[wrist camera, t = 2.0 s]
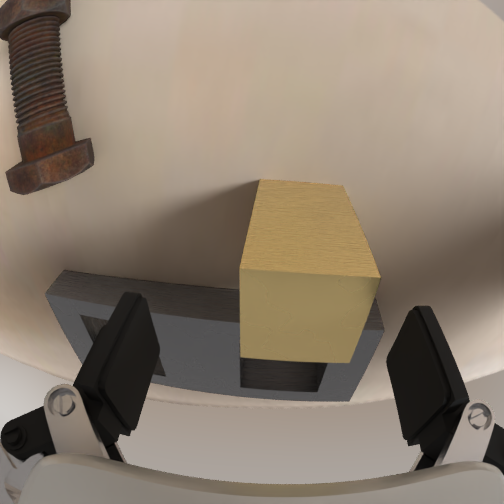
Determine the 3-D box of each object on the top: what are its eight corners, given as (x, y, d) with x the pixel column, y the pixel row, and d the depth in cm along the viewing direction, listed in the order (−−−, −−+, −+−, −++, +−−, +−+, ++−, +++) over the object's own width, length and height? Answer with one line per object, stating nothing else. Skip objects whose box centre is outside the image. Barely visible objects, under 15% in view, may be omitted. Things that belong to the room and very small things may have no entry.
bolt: (80, -37, 10) (97, 157, 18) (13, -14, 8) (31, 179, 16) (72, -76, 5) (89, 176, 13) (-13, -43, 4) (4, 206, 11)
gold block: (343, 185, 16) (381, 277, 9) (331, 255, 18) (349, 362, 12) (259, 179, 16) (239, 268, 9) (257, 249, 19) (240, 357, 12)
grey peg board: (375, 298, 20) (384, 330, 17) (346, 373, 25) (349, 401, 22) (63, 270, 21) (44, 293, 19) (95, 342, 26) (83, 365, 24)
